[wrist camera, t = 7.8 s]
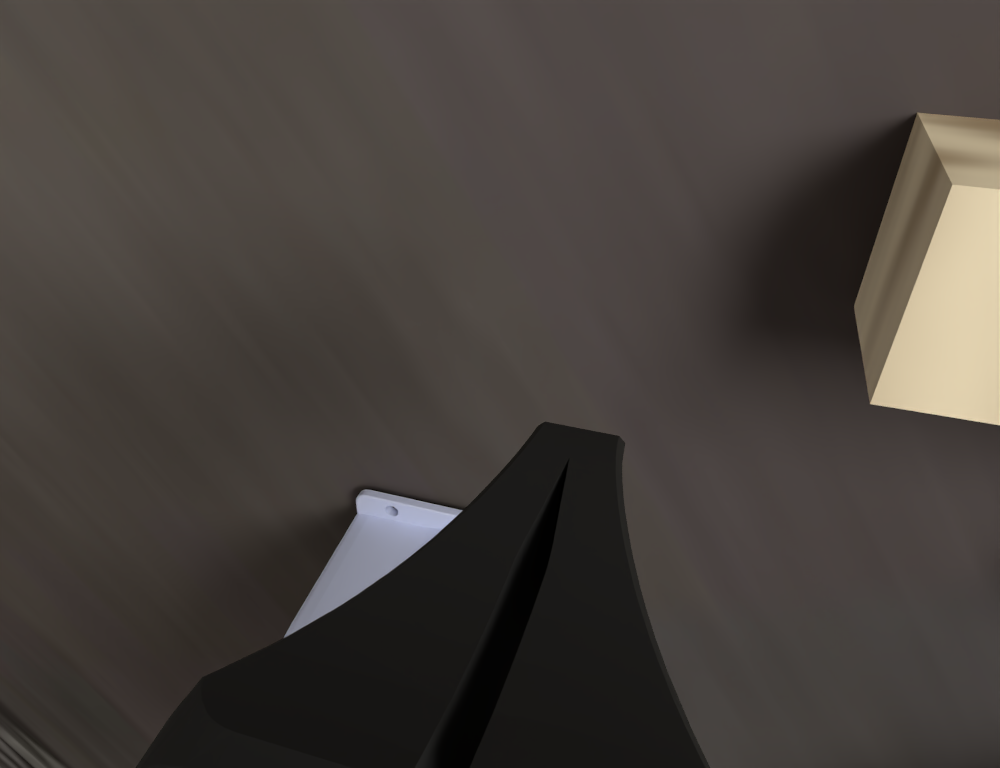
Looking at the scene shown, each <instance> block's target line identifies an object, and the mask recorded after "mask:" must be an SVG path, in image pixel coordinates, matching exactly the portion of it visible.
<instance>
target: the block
mask: <svg viewBox="0 0 1000 768" xmlns="http://www.w3.org/2000/svg"><path fill="white" fill-rule="evenodd" d="M854 311H855V317H856V323H857V329H858V335H859V341H860V347H861V353H862V359H863V365H864V371H865V377H866V383H867V389H868V395H869V401H870V404H874V405H880V406H886V407H892V408H898V409H904V410H910V411H916V412H922V413H928V414H934V415H941V416H947V417H953V418H959V419H965V420H971V421H977V422H983V423H989V424H995V425H1000V120H994V119H982V118H971V117H959V116H948V115H936V114H925V113H917V115H916V118H915V121H914V124H913V127H912V131H911V134H910V137H909V140H908V143H907V146H906V149H905V152H904V155H903V158H902V161H901V164H900V167H899V170H898V173H897V176H896V179H895V182H894V185H893V189H892V192H891V195H890V198H889V201H888V204H887V207H886V210H885V213H884V216H883V219H882V222H881V225H880V228H879V231H878V234H877V237H876V240H875V243H874V246H873V250H872V253H871V256H870V259H869V262H868V265H867V268H866V271H865V274H864V277H863V280H862V283H861V286H860V289H859V292H858V295H857V298H856V301H855V304H854Z"/></svg>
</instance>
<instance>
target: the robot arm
mask: <svg viewBox="0 0 1000 768" xmlns="http://www.w3.org/2000/svg"><path fill="white" fill-rule="evenodd" d="M624 447H625V443H624V441H623V440H622V439H621V438H620V436H616V435H611V434H606V433H601V432H595V431H590V430H585V429H580V428H575V427H569V426H564V425H559V424H554V423H549V422H544V423H542V424H540V425H539V426H538V427H537V428H536V429H535V431H534V432H533V433H532V435H531V436H530V437H529V439H528V440H527V441H526V443H525V444H524V445H523V446H522V448H521V449H520V450H519V451H518V452H517V454H516V455H515V456H514V457H513V458H512V459H511V461H510V462H509V463H508V464H507V465H506V466H505V467H504V469H503V470H502V471H501V472H500V473H499V474H498V475H497V476H496V477H495V478H494V479H493V480H492V481H491V483H490V484H489V485H488V486H487V487H486V488H485V489H484V490H483V491H482V492H481V493H480V494H479V495H478V496H477V497H476V498H475V499H474V500H473V501H472V502H471V503H470V504H469V505H468V506H467V507H466V508H465V509H464V510H459V509H454V508H450V507H445V506H441V505H436V504H432V503H427V502H423V501H418V500H414V499H409V498H405V497H401V496H396V495H392V494H387V493H383V492H378V491H374V490H366V489H365V490H362V491H361V492H360V493H359V495H358V496H357V498H356V507H357V515H356V516H355V518H354V520H353V521H352V523H351V525H350V526H349V528H348V530H347V531H346V533H345V535H344V536H343V538H342V540H341V541H340V543H339V545H338V546H337V548H336V550H335V551H334V553H333V555H332V556H331V558H330V560H329V561H328V563H327V565H326V566H325V568H324V570H323V571H322V573H321V575H320V576H319V578H318V580H317V581H316V583H315V585H314V586H313V588H312V590H311V591H310V593H309V595H308V596H307V598H306V600H305V601H304V603H303V605H302V606H301V608H300V610H299V612H298V613H297V615H296V617H295V618H294V620H293V622H292V623H291V625H290V627H289V629H288V630H287V632H286V634H285V636H284V638H283V639H281V640H279V641H277V642H275V643H274V644H272V645H270V646H268V647H266V648H263V649H261V650H259V651H257V652H255V653H253V654H251V655H249V656H247V657H245V658H243V659H241V660H238V661H236V662H234V663H232V664H230V665H228V666H226V667H224V668H222V669H220V670H218V671H215V672H213V673H211V674H209V675H206V676H204V677H202V678H201V680H200V681H199V682H198V683H197V685H196V686H195V687H194V688H193V690H192V691H191V692H190V693H189V695H188V696H187V697H186V698H185V699H184V700H183V701H182V702H181V704H180V705H179V706H178V707H177V709H176V710H175V711H174V713H173V714H172V715H171V716H170V718H169V719H168V721H167V722H166V723H165V725H164V726H163V728H162V729H161V731H160V732H159V734H158V735H157V737H156V738H155V740H154V741H153V743H152V744H151V746H150V747H149V749H148V750H147V752H146V753H145V755H144V756H143V758H142V759H141V761H140V762H139V764H138V765H137V767H136V768H710V767H709V765H708V762H707V760H706V758H705V756H704V754H703V752H702V750H701V748H700V746H699V744H698V742H697V739H696V737H695V735H694V733H693V731H692V729H691V727H690V724H689V722H688V720H687V717H686V715H685V712H684V710H683V708H682V705H681V703H680V701H679V698H678V696H677V693H676V691H675V689H674V686H673V684H672V681H671V679H670V677H669V674H668V672H667V669H666V667H665V664H664V661H663V658H662V655H661V653H660V650H659V647H658V644H657V641H656V639H655V635H654V632H653V629H652V626H651V623H650V620H649V617H648V614H647V610H646V607H645V603H644V600H643V596H642V592H641V589H640V585H639V581H638V576H637V572H636V568H635V564H634V560H633V555H632V550H631V545H630V539H629V533H628V527H627V521H626V515H625V507H624V498H623V484H622V460H623V454H624ZM392 506H393V507H395V508H393V507H392Z"/></svg>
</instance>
